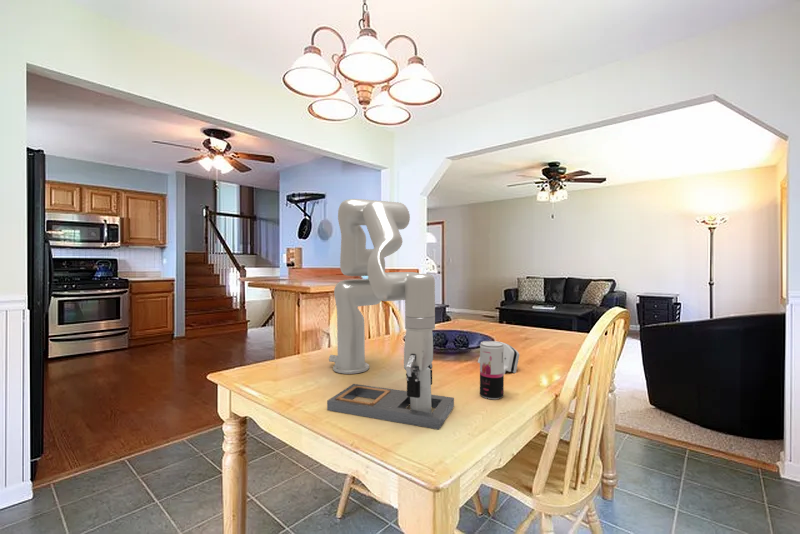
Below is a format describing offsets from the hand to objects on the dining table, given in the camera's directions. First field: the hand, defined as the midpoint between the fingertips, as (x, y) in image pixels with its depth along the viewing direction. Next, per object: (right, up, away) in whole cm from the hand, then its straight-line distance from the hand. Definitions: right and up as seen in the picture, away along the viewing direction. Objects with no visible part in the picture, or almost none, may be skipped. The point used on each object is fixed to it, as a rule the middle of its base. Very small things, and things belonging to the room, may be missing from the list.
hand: (420, 390), depth 96 cm
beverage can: (+21, -6, +12) cm, 25 cm away
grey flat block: (-7, -6, +3) cm, 10 cm away
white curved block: (+30, -5, +41) cm, 51 cm away
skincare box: (0, -6, 0) cm, 6 cm away
